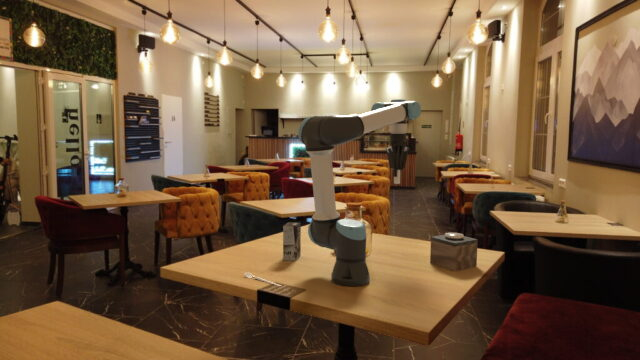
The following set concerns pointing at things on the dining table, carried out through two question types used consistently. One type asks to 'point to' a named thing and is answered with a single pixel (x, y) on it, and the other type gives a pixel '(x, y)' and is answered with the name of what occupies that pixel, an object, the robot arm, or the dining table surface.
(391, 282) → the dining table surface
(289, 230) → the coffee box
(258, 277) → the fork
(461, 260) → the socket block
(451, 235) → the plunger
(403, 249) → the dining table surface
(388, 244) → the dining table surface
